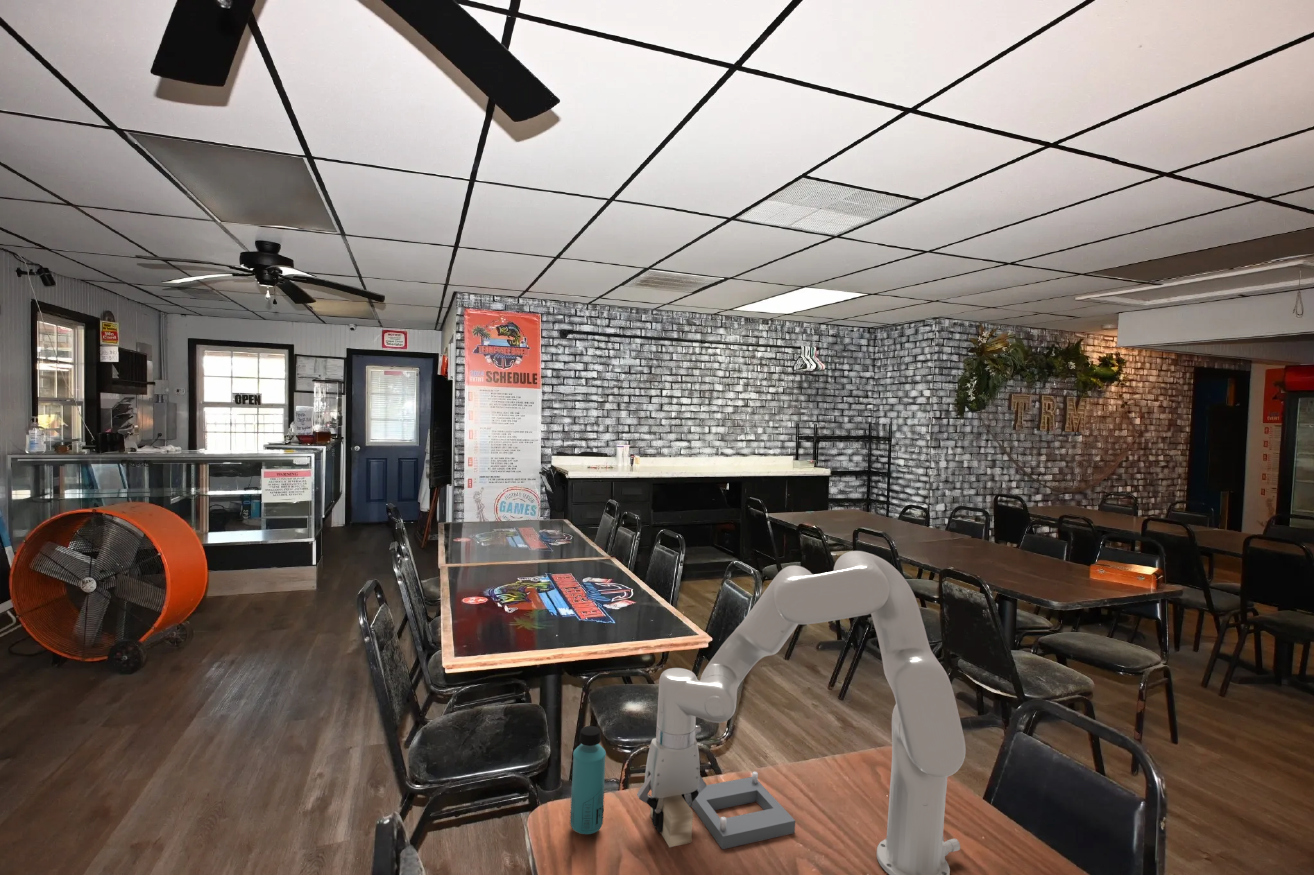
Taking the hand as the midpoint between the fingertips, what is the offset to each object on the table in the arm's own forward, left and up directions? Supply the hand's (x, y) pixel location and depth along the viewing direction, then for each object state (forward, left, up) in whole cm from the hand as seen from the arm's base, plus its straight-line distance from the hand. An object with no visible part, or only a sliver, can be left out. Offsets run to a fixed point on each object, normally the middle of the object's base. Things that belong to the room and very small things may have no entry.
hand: (670, 825), depth 126 cm
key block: (0, 0, -1) cm, 1 cm away
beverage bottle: (+16, -4, -1) cm, 17 cm away
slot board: (-15, +1, -1) cm, 15 cm away
